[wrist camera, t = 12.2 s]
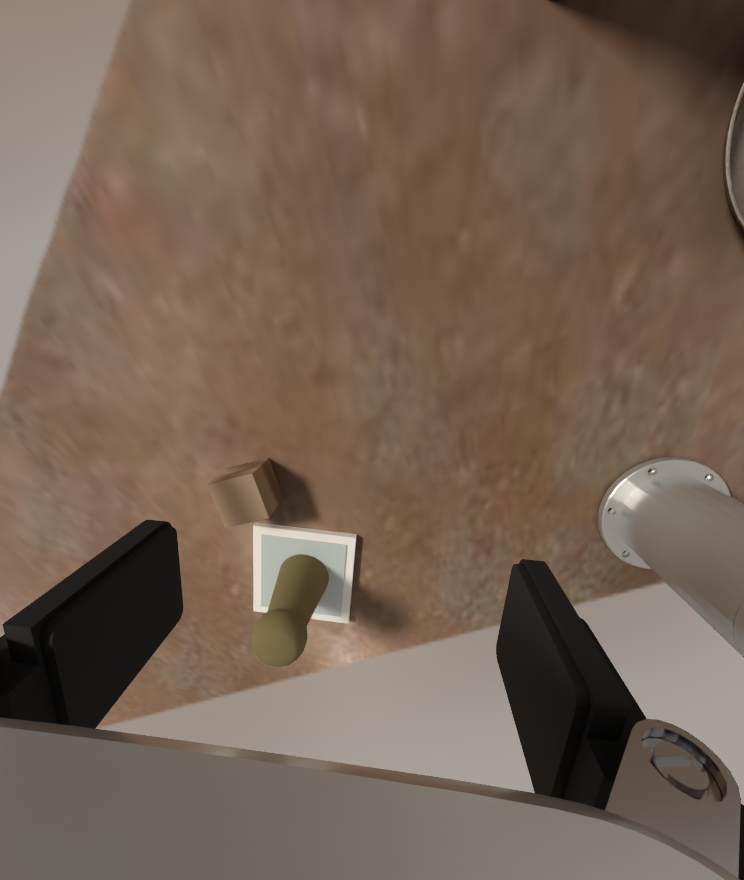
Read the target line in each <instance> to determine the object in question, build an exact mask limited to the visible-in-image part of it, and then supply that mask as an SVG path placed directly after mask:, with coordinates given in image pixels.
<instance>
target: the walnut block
mask: <svg viewBox="0 0 744 880" xmlns="http://www.w3.org/2000/svg"><path fill="white" fill-rule="evenodd" d="M207 486H208V489H209V491H210V493H211V496H212V498H213V501H214V503H215V505H216V508H217V510H218V513H219V515H220V517H221V520H222V522H223V525H224V527H225V528H227V527H232V526H236V525H241V524H245V523H250V522H254V521H259V520H263V519H268V518H269V517H270V516H271V515H272V513H273V512H274V510H275V509H276V508H277V506H278V505H279V503H280V502H281V501H282V499H283V495H282V492H281V490H280V487H279V484H278V481H277V479H276V476H275V473H274V470H273V468H272V465H271V462H270V459H269V458H267V459H263V460H259V461H255V462H251V463H247V464H243V465H238V466H234V467H230V468H228V469H227V470H225V471H224V472H223V473H221V474H220V475H219V476H218V477H216V478H215V479H214V480H213V481H211V482H210V483H209V484H207Z"/></svg>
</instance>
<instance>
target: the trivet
mask: <svg viewBox="0 0 744 880" xmlns="http://www.w3.org/2000/svg"><path fill="white" fill-rule="evenodd" d="M356 537H357V534H350V533H341V532H333V531H325V530H316V529H308V528H300V527H291V526H283V525H275V524H266V523H258V522H256V523H255V524H254V526H253V572H254V611H257V612H264V613H267V611H268V608H269V604H270V601H271V598H272V594H273V591H274V587H275V584H276V581H277V577H278V574H279V570H280V567H281V565H282V564H283V562H284V561H285V560H286V559H288V558H289V557H291V556H294V555H298V554H303V555H309V556H312V557H315V558H316V559H318V560H319V561H321V562H322V563H323V565H324V566H325V567H326V569H327V571H328V574H329V582H328V585H327V588H326V590H325V592H324V594H323V596H322V597H321V599H320V601H319V603H318V605H317V607H316V609H315V611H314V613H313V615H312V617H311V619H317V620H325V621H332V622H340V623H347V624H349V618H350V607H351V595H352V584H353V572H354V561H355V549H356Z"/></svg>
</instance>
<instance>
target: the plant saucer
mask: <svg viewBox="0 0 744 880" xmlns="http://www.w3.org/2000/svg"><path fill="white" fill-rule="evenodd" d="M723 179H724V186H725V191H726V195H727V199H728V202H729V205H730V208H731V210H732V212H733V214H734V216H735V218H736V220H737V222H738V223H739V225H740V226H741V228H742V229H743V231H744V83H743V85H742V87H741V89H740V92H739V94H738V96H737V99H736V101H735V104H734V107H733V110H732V113H731V116H730V120H729V123H728V128H727V132H726V137H725V143H724V152H723Z"/></svg>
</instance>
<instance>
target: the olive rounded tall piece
mask: <svg viewBox="0 0 744 880" xmlns="http://www.w3.org/2000/svg"><path fill="white" fill-rule="evenodd" d="M328 582H329V574H328V571H327V569H326V567H325V566H324V565H323V563H322V562H321V561H319V560H318V559H316V558H315V557H312V556H309V555H303V554H298V555H294V556H291V557H289V558H288V559H286V560H285V561H284V562H283V564H282V565H281V567H280V570H279V574H278V577H277V581H276V584H275V587H274V591H273V594H272V598H271V601H270V604H269V608H268V611H267V613H265V614H264V615H263V616H262V617H261V618H260V619H259V620H258V622H257V623H256V625H255V627H254V629H253V633H252V638H251V641H252V647H253V651H254V653H255V654H256V656H257V657H258V658H259V659H260V660H261V661H263V662H264V663H266V664H268V665H272V666H280V667H281V666H286V665H289V664H291V663H292V662H294V661H295V660H297V659H298V657H299V656H300V655H301V654H302V652H303V651H304V648H305V645H306V641H307V625H308V623H309V621H310V619H311V617H312V615H313V613H314V611H315V609H316V607H317V605H318V603H319V601H320V599H321V597H322V596H323V594H324V592H325V590H326V588H327V585H328Z"/></svg>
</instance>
